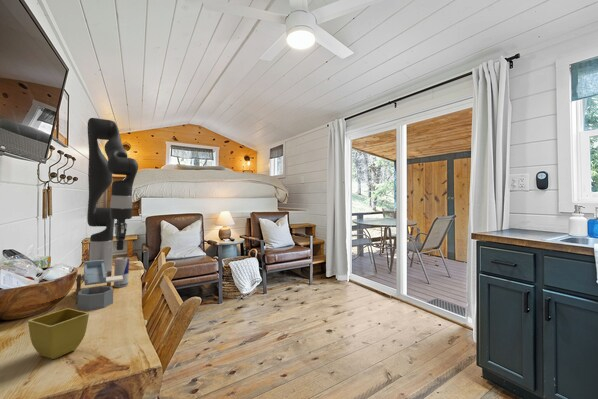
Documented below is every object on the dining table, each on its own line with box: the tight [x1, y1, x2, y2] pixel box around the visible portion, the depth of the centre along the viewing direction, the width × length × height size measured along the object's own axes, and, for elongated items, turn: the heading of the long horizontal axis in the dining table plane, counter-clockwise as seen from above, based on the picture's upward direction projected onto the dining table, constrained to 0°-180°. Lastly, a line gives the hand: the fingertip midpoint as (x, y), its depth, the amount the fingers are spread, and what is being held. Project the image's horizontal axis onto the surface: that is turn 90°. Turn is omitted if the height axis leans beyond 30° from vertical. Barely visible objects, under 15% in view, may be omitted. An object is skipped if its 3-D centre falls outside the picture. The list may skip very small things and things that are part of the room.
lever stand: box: [75, 271, 112, 305], centre depth 109 cm, size 17×11×9 cm, turn 39°
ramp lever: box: [81, 260, 123, 286], centre depth 111 cm, size 14×13×5 cm
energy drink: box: [113, 256, 130, 288], centre depth 122 cm, size 5×5×12 cm
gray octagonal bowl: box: [77, 285, 114, 311], centre depth 100 cm, size 10×10×5 cm
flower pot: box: [27, 307, 90, 360], centre depth 69 cm, size 9×9×9 cm
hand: (119, 249), depth 112 cm, fingers closed
